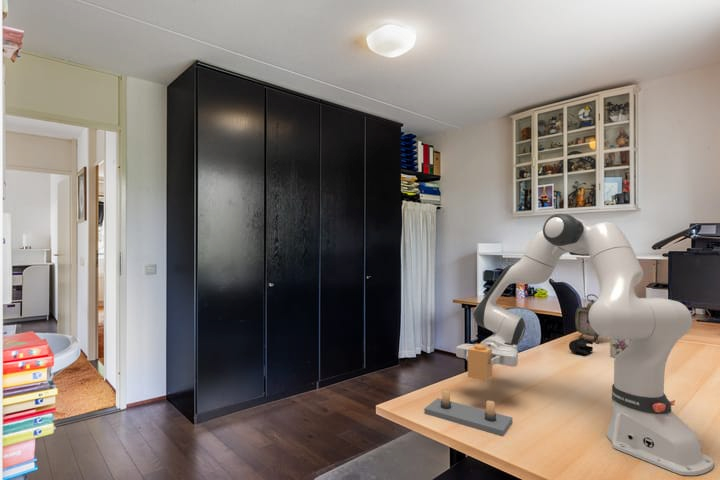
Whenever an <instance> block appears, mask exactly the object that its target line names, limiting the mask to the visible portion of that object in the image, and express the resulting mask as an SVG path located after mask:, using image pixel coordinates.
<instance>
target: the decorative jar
mask: <svg viewBox="0 0 720 480" xmlns="http://www.w3.org/2000/svg"><path fill="white" fill-rule="evenodd" d="M609 340H610V343H609V346H610V347H609V349H610V350H609V354H610V357H611V358H614V359H615V357H616V356H617V354H618V353H620V352H621V351H623V350H624V349H626V347H627V346H628V345H629V343H630V342H631V339H614V338H610V339H609Z"/></svg>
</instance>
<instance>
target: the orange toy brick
mask: <svg viewBox="0 0 720 480" xmlns="http://www.w3.org/2000/svg"><path fill="white" fill-rule="evenodd" d="M489 358H492V348H488V347H486V345H484V344H480V343H474V346H472V347H471V348H469V349H468V360H467V377H468V378H472V379H475V380H476V379H477V380H481V381H488V380H489V379H490V378H491V377H492V376H493V365H491V364H488V362H489V361H488V359H489Z"/></svg>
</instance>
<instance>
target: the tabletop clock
mask: <svg viewBox="0 0 720 480" xmlns="http://www.w3.org/2000/svg"><path fill="white" fill-rule="evenodd" d="M589 296H591V297H592V296H593V297H595V298H596V300H597V299H598V297H599V296H597V295H595V294H592V293H589V294H588V295H587V296H586V299H587V301H588V302H589V303H587V305H586V306H582V307H577V308H576V310H575V313H574V314H575V315H574V322H575V329H576V331H577V332H578V333H580V335H579V336H578V339H579V338H582V337H583V335H585V336H589V337H593V341H595V344H599V343H600V341H599V337H601V336H600V335H598V334H597V333H596V332H595V331H594V330H593V329H592V327H591V325H590V322H589V310H590V308H591V306H592V305H593V304H594V303H595V302H596V300H594V299H591V300H590V299H589Z"/></svg>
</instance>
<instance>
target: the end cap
mask: <svg viewBox="0 0 720 480" xmlns="http://www.w3.org/2000/svg"><path fill="white" fill-rule="evenodd" d="M593 344H594V340H592V339H587V338H585V337H583V336H582V338H579V337H578V338H577V339H574V340H571V341H570V342H569V344H568V348H569V351H570V352H571V353H573V354H574V355H576V356H580V357H588V356H589V355H592V354H593V352H594V351H593V350H594V346H589V345H593Z"/></svg>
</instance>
